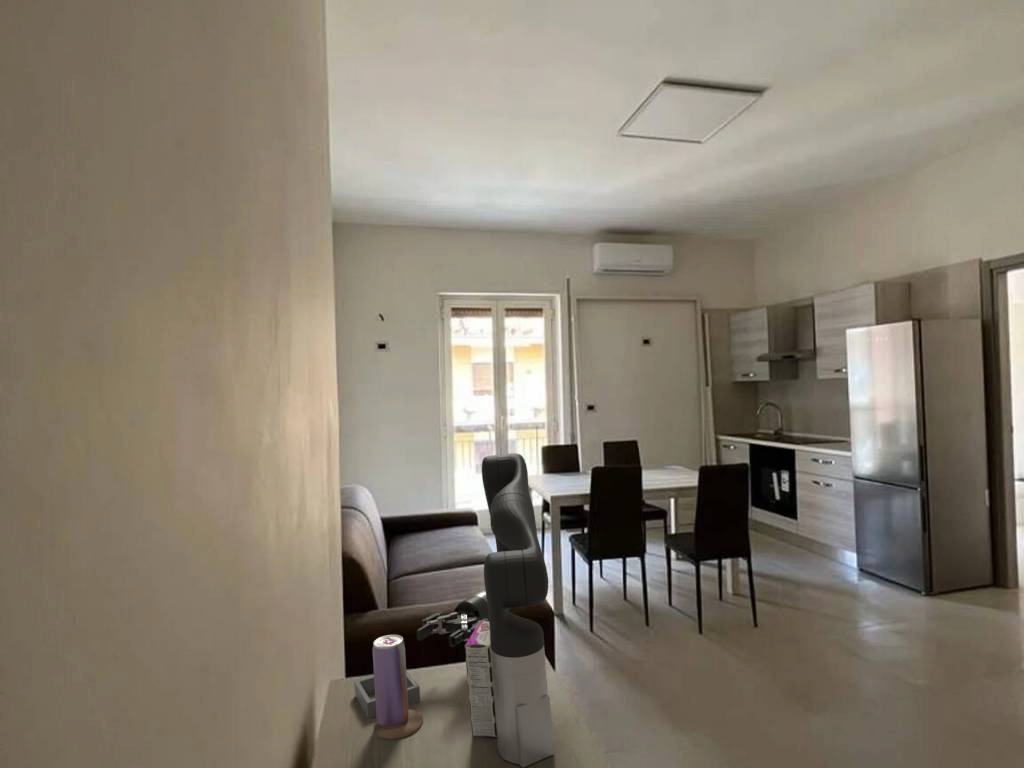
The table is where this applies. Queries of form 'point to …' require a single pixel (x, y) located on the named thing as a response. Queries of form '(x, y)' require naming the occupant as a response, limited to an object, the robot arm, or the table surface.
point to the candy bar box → (481, 682)
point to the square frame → (368, 687)
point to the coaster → (401, 727)
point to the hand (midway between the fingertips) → (433, 638)
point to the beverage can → (390, 681)
